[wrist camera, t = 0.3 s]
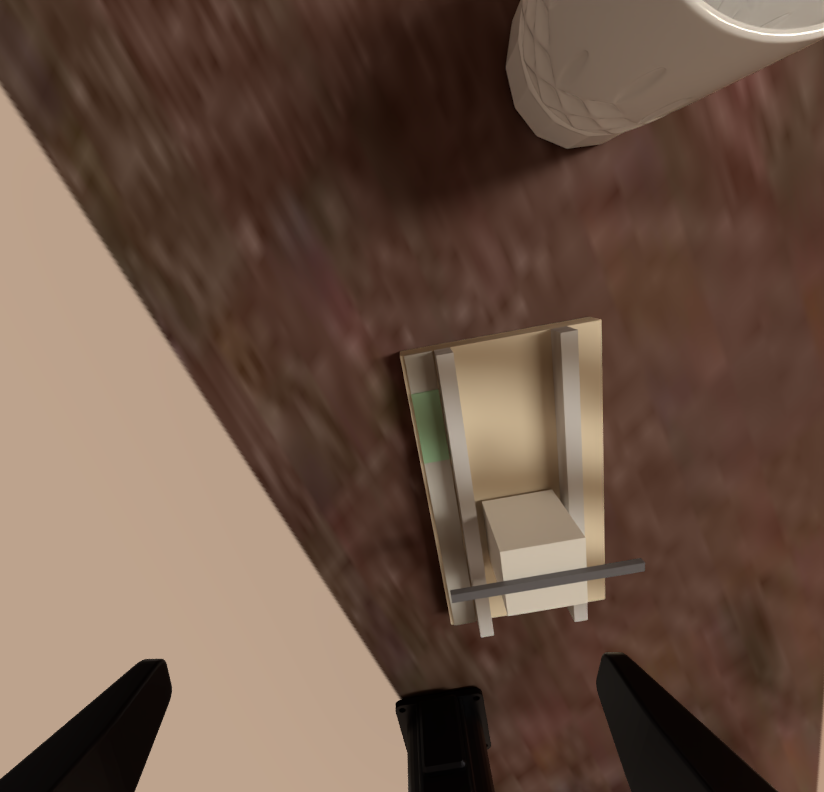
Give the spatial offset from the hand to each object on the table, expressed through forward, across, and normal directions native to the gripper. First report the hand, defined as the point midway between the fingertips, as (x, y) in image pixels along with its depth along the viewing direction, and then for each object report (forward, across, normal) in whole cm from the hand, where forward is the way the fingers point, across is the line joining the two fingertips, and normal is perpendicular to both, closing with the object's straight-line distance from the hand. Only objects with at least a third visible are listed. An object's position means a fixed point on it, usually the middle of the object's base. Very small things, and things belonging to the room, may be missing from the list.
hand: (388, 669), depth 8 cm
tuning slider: (+13, -7, +6) cm, 16 cm away
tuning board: (+14, -7, +4) cm, 16 cm away
